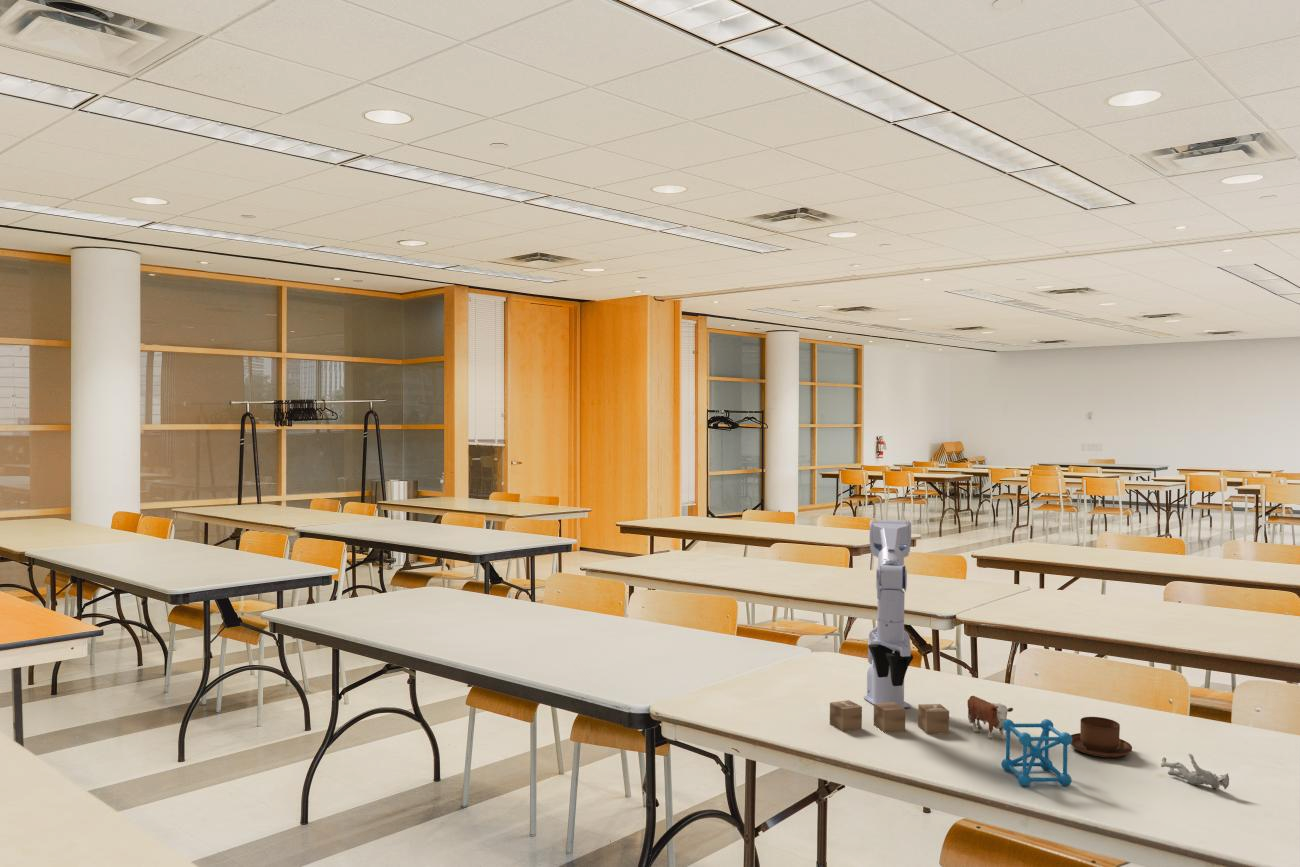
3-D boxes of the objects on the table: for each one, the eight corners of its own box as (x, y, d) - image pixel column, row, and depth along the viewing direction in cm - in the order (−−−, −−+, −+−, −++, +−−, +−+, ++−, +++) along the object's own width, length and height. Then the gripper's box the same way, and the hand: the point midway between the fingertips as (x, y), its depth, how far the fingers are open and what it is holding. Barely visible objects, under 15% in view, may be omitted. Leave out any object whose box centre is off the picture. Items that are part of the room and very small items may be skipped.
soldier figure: (1181, 776, 186) (1243, 776, 176) (1176, 797, 183) (1239, 799, 173) (1157, 751, 184) (1218, 749, 174) (1151, 772, 181) (1213, 772, 172)
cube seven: (917, 726, 211) (918, 703, 211) (939, 726, 211) (940, 703, 211) (926, 734, 206) (926, 711, 206) (948, 733, 206) (949, 710, 206)
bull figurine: (1000, 747, 198) (1000, 708, 198) (962, 726, 211) (963, 690, 211) (1018, 745, 199) (1018, 706, 199) (979, 725, 212) (980, 688, 212)
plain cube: (873, 725, 211) (873, 703, 211) (894, 724, 212) (894, 702, 212) (884, 733, 206) (884, 710, 206) (905, 731, 207) (905, 708, 207)
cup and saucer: (1077, 737, 204) (1077, 709, 204) (1138, 750, 197) (1138, 721, 197) (1060, 753, 195) (1060, 723, 195) (1123, 767, 188) (1124, 736, 187)
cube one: (829, 724, 211) (829, 702, 211) (848, 722, 213) (848, 699, 213) (842, 731, 207) (842, 708, 207) (861, 729, 209) (862, 706, 209)
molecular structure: (1049, 768, 186) (1050, 717, 186) (1073, 788, 176) (1074, 734, 176) (999, 768, 186) (1000, 717, 186) (1020, 788, 176) (1021, 734, 176)
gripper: (859, 613, 215) (858, 673, 215) (889, 627, 201) (888, 691, 201) (887, 612, 216) (887, 671, 217) (919, 626, 202) (919, 689, 203)
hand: (889, 681), depth 209 cm, fingers open, 6 cm apart
